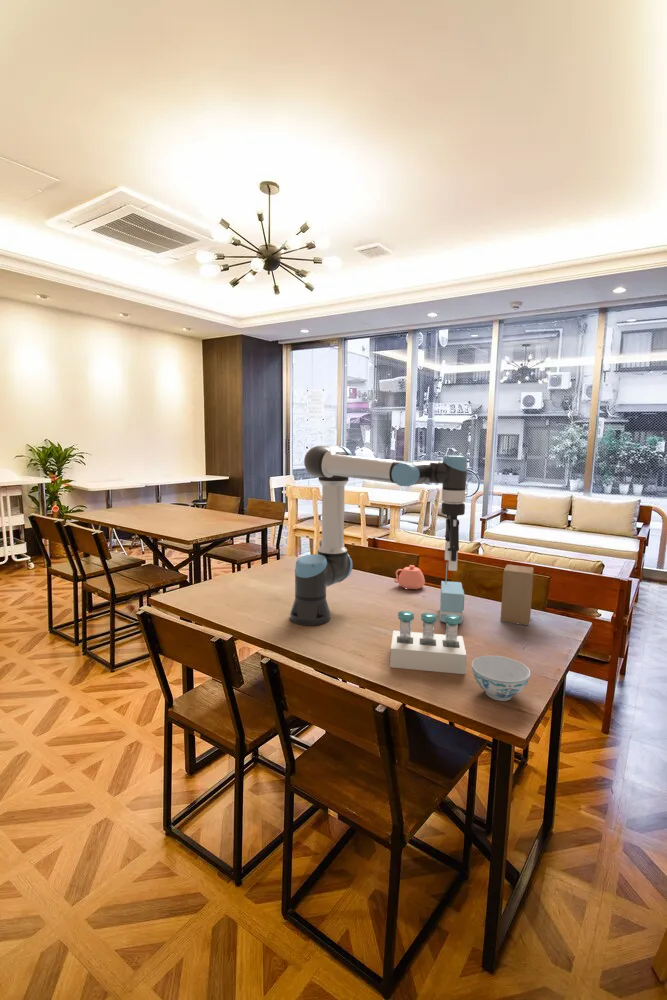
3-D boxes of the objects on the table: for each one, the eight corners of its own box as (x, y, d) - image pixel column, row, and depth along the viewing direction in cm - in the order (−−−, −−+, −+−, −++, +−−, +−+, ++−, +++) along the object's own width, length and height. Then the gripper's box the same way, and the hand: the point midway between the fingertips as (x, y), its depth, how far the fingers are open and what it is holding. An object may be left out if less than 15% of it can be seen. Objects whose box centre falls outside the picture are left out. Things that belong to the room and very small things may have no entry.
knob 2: (443, 649, 153) (444, 619, 151) (442, 642, 157) (443, 613, 156) (459, 650, 152) (461, 620, 151) (458, 644, 157) (459, 615, 155)
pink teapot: (426, 591, 225) (427, 569, 223) (395, 591, 225) (396, 568, 224) (422, 583, 237) (423, 562, 236) (392, 582, 237) (393, 561, 236)
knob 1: (396, 645, 155) (397, 615, 154) (397, 638, 160) (398, 610, 158) (412, 646, 154) (413, 617, 153) (412, 640, 159) (413, 611, 158)
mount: (390, 667, 151) (390, 648, 151) (392, 647, 165) (393, 630, 164) (465, 674, 148) (466, 655, 147) (461, 653, 161) (462, 636, 161)
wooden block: (530, 617, 195) (533, 567, 193) (528, 626, 186) (532, 573, 184) (503, 613, 199) (506, 564, 197) (500, 621, 190) (503, 570, 188)
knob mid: (419, 647, 154) (421, 617, 153) (419, 640, 158) (421, 612, 157) (435, 648, 153) (437, 618, 152) (435, 642, 158) (436, 613, 156)
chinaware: (467, 702, 132) (469, 674, 131) (473, 677, 146) (474, 651, 145) (528, 714, 127) (530, 685, 126) (528, 687, 141) (530, 661, 140)
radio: (465, 626, 185) (467, 573, 183) (440, 623, 187) (442, 571, 184) (462, 611, 201) (465, 562, 198) (439, 609, 203) (442, 561, 200)
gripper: (470, 508, 153) (466, 575, 156) (460, 498, 178) (457, 556, 181) (445, 507, 154) (442, 574, 157) (439, 497, 179) (436, 555, 182)
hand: (450, 565), depth 169 cm, fingers open, 13 cm apart
